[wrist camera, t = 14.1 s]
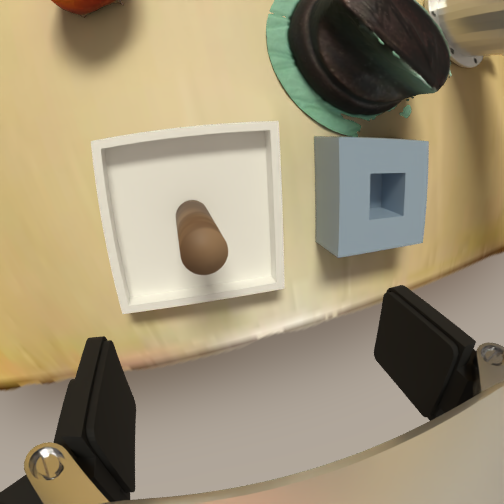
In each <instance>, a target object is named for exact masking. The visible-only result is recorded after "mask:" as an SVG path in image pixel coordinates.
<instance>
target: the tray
mask: <svg viewBox="0 0 504 504" xmlns="http://www.w3.org/2000/svg"><path fill="white" fill-rule="evenodd" d="M91 147H92V157H93V166H94V174H95V181H96V188H97V195H98V202H99V208H100V214H101V220H102V225H103V231H104V236H105V241H106V246H107V251H108V256H109V261H110V265H111V270H112V274H113V278H114V283H115V287H116V291H117V295H118V299H119V302H120V306H121V310H122V314H127V313H135V312H142V311H149V310H156V309H163V308H170V307H177V306H183V305H190V304H196V303H203V302H209V301H215V300H221V299H227V298H233V297H239V296H245V295H251V294H257V293H263V292H268V291H274V290H279V289H284V243H283V210H282V183H281V159H280V138H279V121H261V122H240V123H224V124H211V125H200V126H189V127H180V128H171V129H163V130H155V131H148V132H141V133H135V134H128V135H122V136H116V137H110V138H105V139H100V140H94V141H91ZM188 200H197V201H199V202H201V203H203V204H204V205H205V207H206V208H207V210H208V212H209V213H210V215H211V217H212V219H213V220H214V222H215V224H216V225H217V227H218V229H219V230H220V232H221V234H222V236H223V237H224V239H225V241H226V243H227V246H228V257H227V260H226V262H225V264H224V265H223V266H222V267H221V268H220V269H219V270H218V271H216V272H215V273H212V274H209V275H198V274H194V273H192V272H191V271H189V270H188V269H187V268H186V267H185V266H184V265H183V263H182V260H181V256H180V249H179V241H178V233H177V225H176V211H177V209H178V207H179V206H180V205H181V204H182V203H184V202H185V201H188Z"/></svg>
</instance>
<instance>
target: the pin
mask: <svg viewBox="0 0 504 504" xmlns="http://www.w3.org/2000/svg"><path fill="white" fill-rule="evenodd" d="M176 225H177V233H178V241H179V249H180V256H181V260H182V263H183V265H184V266H185V267H186V268H187V269H188V270H189V271H191V272H192V273H194V274H198V275H209V274H212V273H215V272H216V271H218V270H219V269H220V268H221V267H222V266H223V265H224V264H225V262H226V260H227V257H228V246H227V243H226V241H225V239H224V237H223V236H222V234H221V232H220V230H219V229H218V227H217V225H216V224H215V222H214V220H213V219H212V217H211V215H210V213H209V212H208V210H207V208H206V207H205V205H204V204H203V203H201V202H199V201H197V200H188V201H185V202H184V203H182V204H181V205H180V206H179V207H178V209H177V211H176Z"/></svg>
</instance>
